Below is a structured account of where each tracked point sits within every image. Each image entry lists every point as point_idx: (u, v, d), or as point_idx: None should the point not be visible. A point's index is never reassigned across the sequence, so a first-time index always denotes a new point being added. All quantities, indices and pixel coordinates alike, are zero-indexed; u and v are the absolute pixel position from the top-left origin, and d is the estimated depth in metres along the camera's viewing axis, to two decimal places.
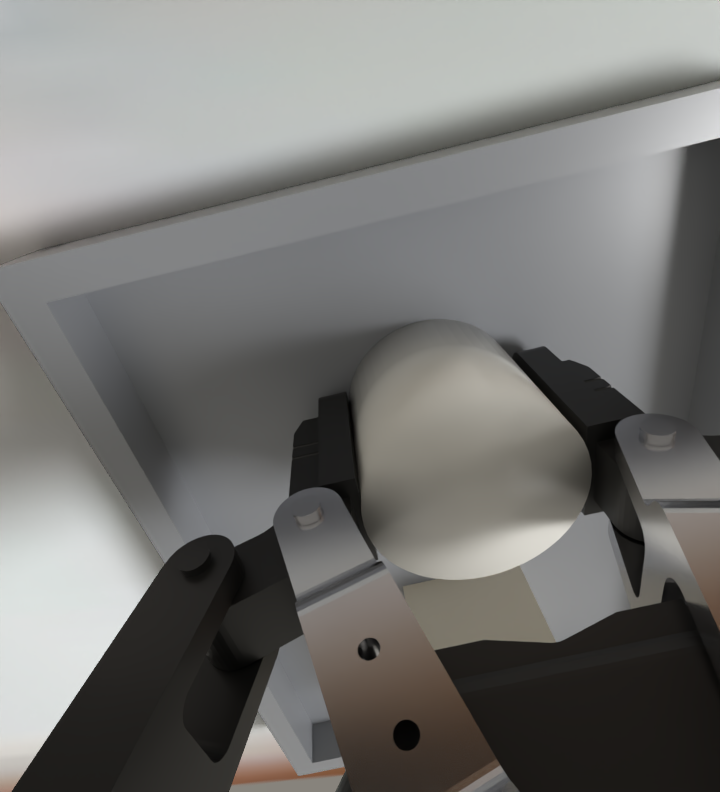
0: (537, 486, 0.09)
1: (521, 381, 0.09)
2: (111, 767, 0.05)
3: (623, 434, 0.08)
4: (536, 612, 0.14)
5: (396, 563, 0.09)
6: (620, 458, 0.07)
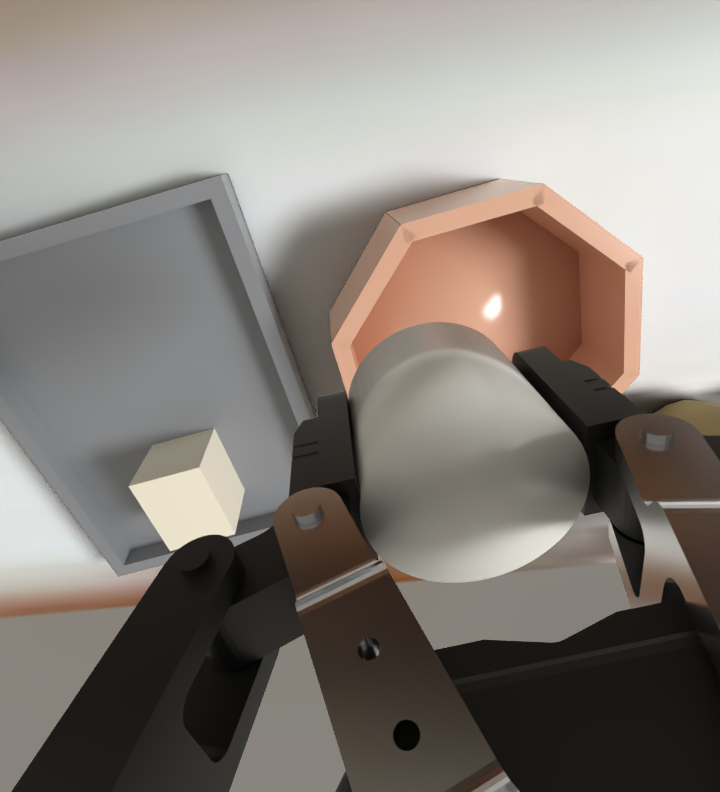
0: (535, 489, 0.09)
1: (519, 385, 0.09)
2: (110, 767, 0.05)
3: (622, 434, 0.08)
4: (204, 446, 0.26)
5: (395, 566, 0.09)
6: (620, 458, 0.07)
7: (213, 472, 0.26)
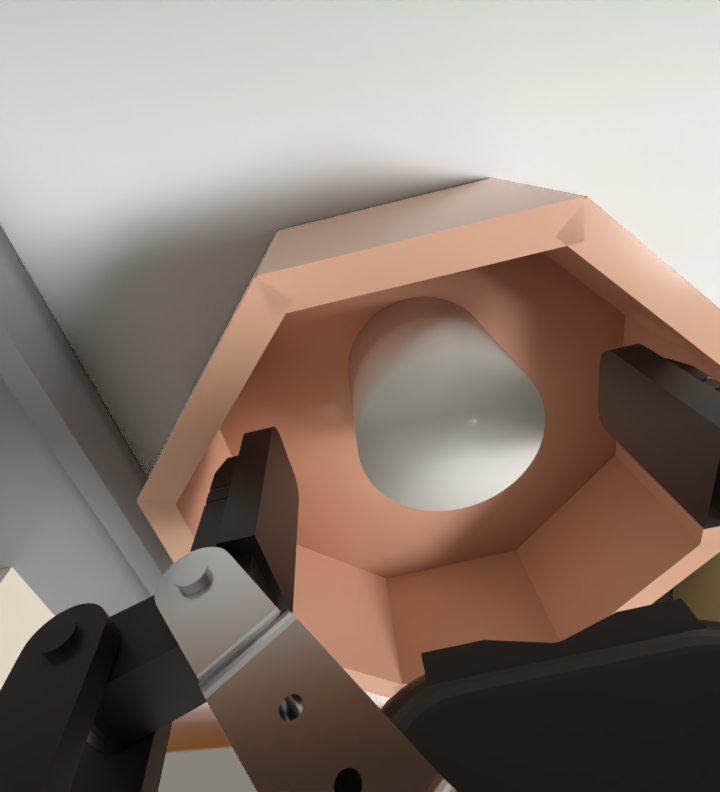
0: (501, 427, 0.11)
1: (488, 342, 0.11)
2: None
3: None
4: None
5: (386, 495, 0.11)
6: None
7: None
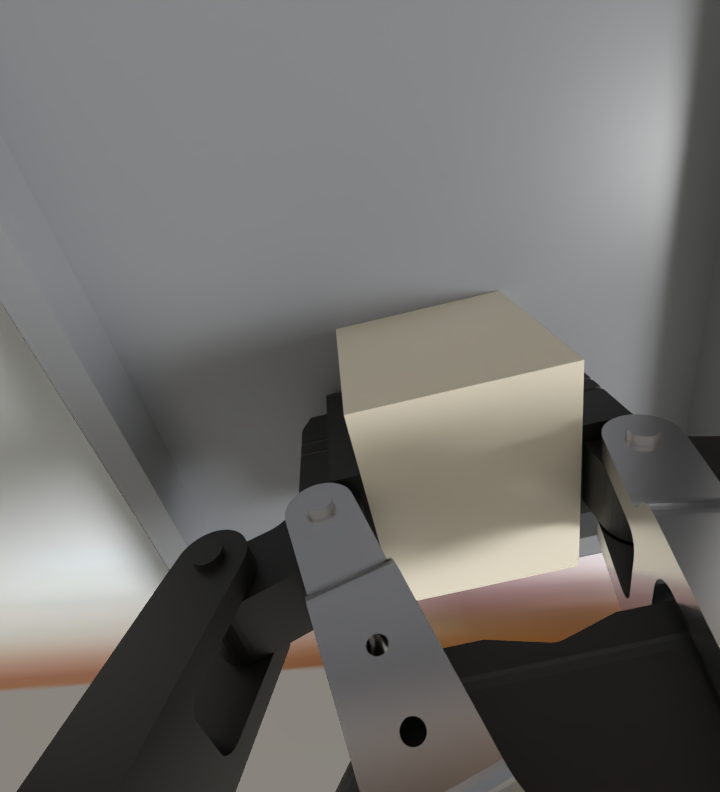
0: None
1: None
2: (122, 757, 0.05)
3: (608, 435, 0.08)
4: (523, 318, 0.09)
5: None
6: (606, 459, 0.08)
7: None
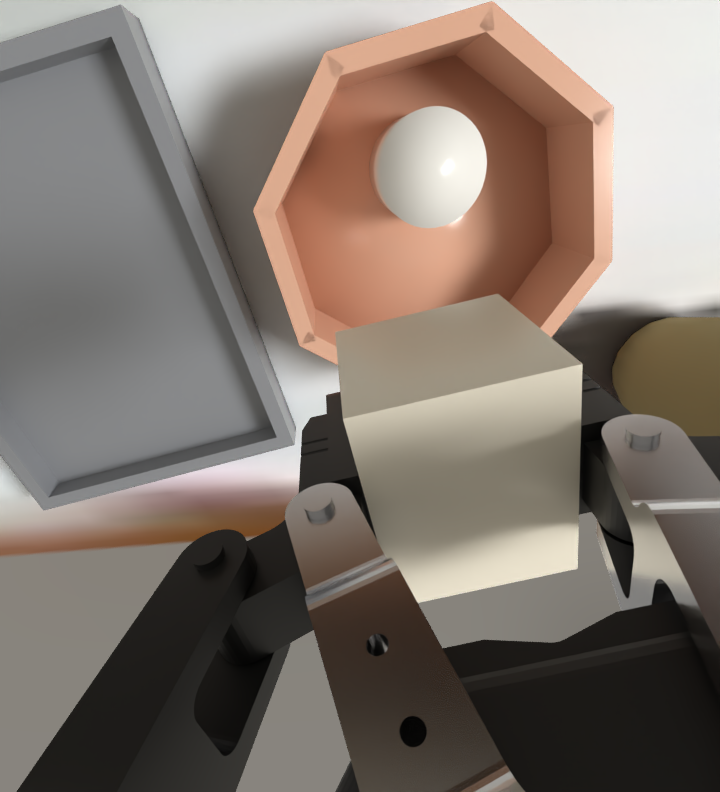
0: (461, 161, 0.18)
1: None
2: (122, 757, 0.05)
3: (608, 436, 0.08)
4: (522, 321, 0.09)
5: (396, 214, 0.19)
6: (606, 459, 0.08)
7: None
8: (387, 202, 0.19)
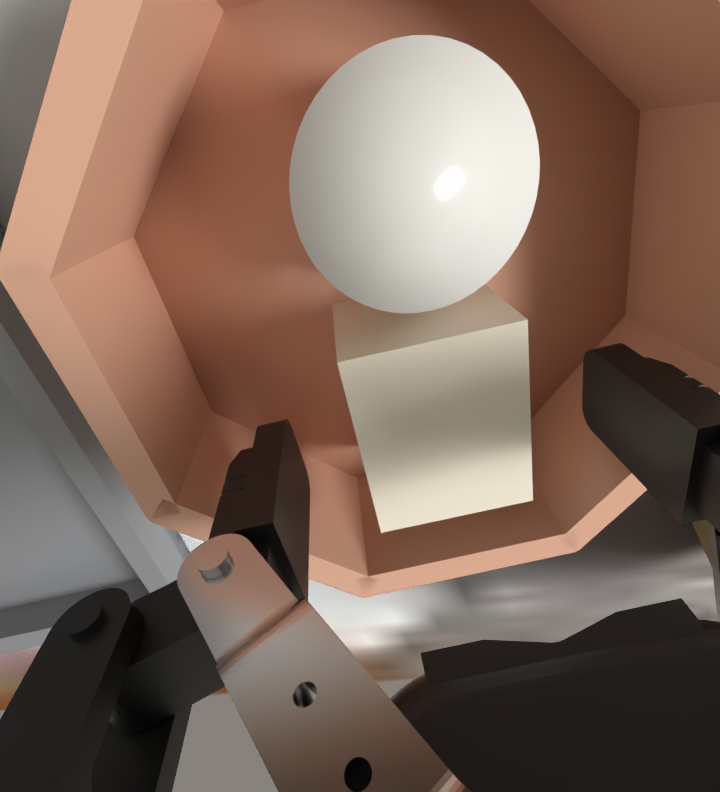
0: (481, 175, 0.08)
1: None
2: None
3: None
4: (487, 291, 0.11)
5: (333, 284, 0.09)
6: None
7: None
8: (313, 258, 0.08)
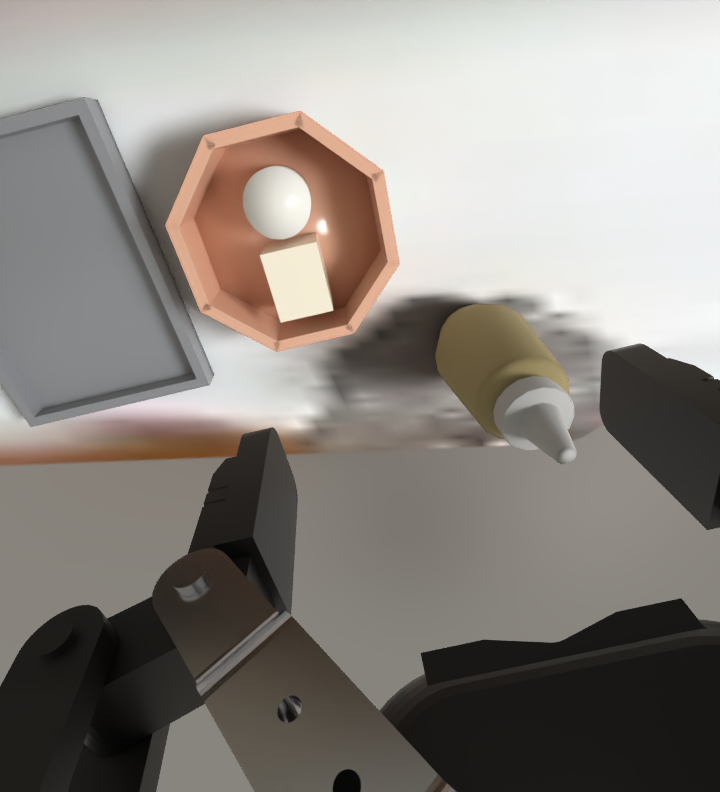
0: (294, 199, 0.30)
1: (289, 169, 0.30)
2: None
3: None
4: (314, 236, 0.33)
5: None
6: None
7: (320, 256, 0.33)
8: (250, 222, 0.30)
